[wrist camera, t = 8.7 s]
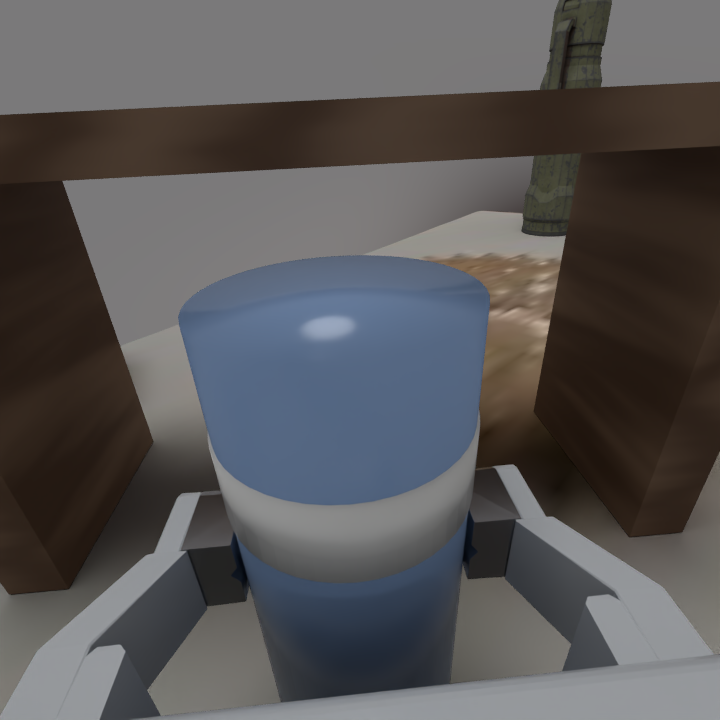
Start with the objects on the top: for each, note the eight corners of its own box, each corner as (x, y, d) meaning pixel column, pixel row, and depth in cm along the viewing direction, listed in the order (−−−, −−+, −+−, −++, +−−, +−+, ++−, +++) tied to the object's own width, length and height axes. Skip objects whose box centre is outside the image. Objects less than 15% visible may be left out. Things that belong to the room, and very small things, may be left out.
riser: (8, 594, 18) (-322, 129, 10) (113, 444, 27) (-13, 134, 19) (682, 532, 19) (894, 73, 11) (570, 408, 28) (641, 103, 20)
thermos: (510, 234, 75) (540, -19, 59) (533, 223, 83) (566, -3, 67) (561, 240, 70) (611, -37, 54) (581, 227, 78) (630, -17, 62)
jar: (273, 807, 10) (112, 381, 4) (288, 607, 14) (216, 263, 9) (472, 783, 10) (557, 347, 5) (428, 593, 15) (445, 248, 9)
